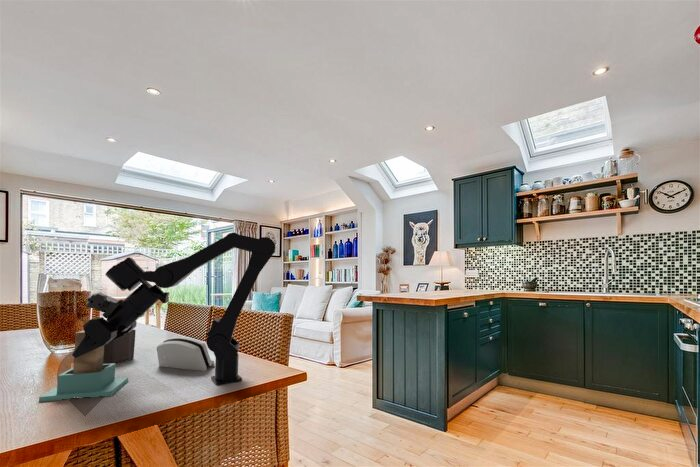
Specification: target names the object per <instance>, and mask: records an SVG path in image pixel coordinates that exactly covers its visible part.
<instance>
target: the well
mask: <svg viewBox="0 0 700 467" xmlns="http://www.w3.org/2000/svg"><path fill="white" fill-rule="evenodd" d="M128 382H129V376H128V377H127V376H126V377H116V363H112V364H103V370H101V371H100V372H92V373H77V374H73V367H71V368H70V369H68V370H66V371H64V372H62V373H60V374H59V375H57V386H55V387H53V388H52V389H51V390H48V391H47V392H45V393H43V394H42V395H40V396H39V397H38V403H39V402H40V403H41V402H52V401H53V402H55V401H63V400H62V399H67V400H71V399H70V398H74V397H75V398H77V397H91V398H100V397H99V396H103V397H111V396H112V397H113V395H114V394H115V393H116V392H118V391H119V390H120V389H121V388H122V387H123V386H124V385H126V383H128Z"/></svg>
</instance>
